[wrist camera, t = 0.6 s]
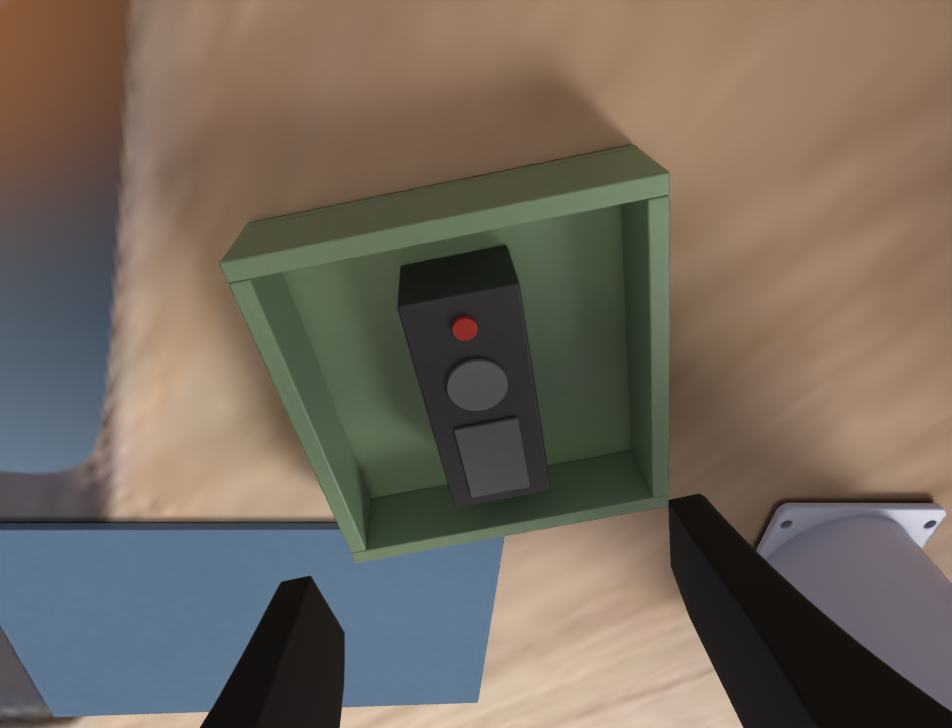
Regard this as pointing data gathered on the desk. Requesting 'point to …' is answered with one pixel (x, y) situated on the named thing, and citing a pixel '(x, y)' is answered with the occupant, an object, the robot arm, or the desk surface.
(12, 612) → the mat
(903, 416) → the desk surface
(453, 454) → the remote
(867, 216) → the desk surface
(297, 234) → the caddy
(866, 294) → the desk surface
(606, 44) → the desk surface
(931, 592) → the robot arm
